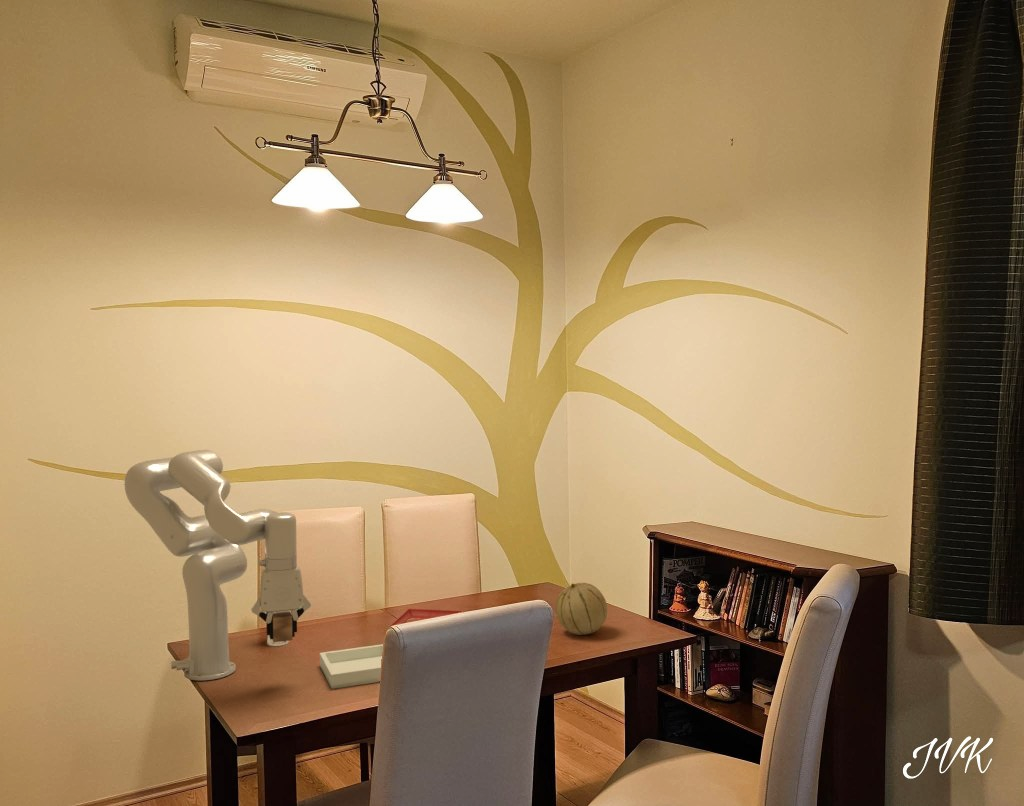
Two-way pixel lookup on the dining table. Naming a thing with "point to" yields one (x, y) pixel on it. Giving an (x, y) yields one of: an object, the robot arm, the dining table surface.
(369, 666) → the tray
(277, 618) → the block
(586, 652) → the dining table surface
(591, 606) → the cantaloupe
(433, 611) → the plant saucer
